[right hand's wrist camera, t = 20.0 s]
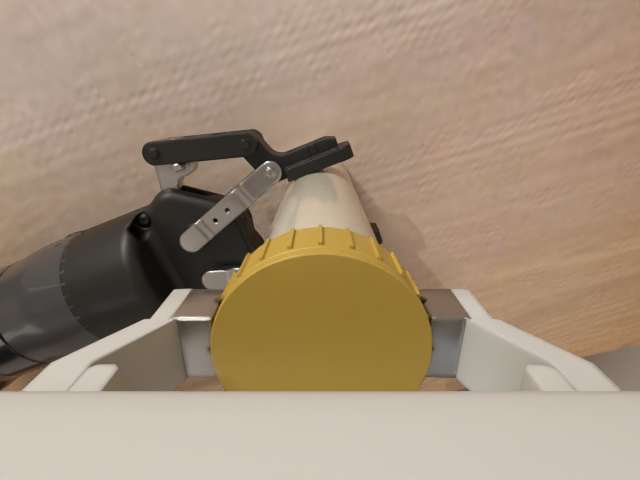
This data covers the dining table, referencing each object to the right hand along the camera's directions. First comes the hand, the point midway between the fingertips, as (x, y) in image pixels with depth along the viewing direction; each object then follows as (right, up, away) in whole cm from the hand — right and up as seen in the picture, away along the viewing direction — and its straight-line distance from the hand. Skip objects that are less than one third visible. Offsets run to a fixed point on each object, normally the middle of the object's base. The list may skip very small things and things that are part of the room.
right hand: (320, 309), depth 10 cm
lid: (0, -1, -2) cm, 2 cm away
